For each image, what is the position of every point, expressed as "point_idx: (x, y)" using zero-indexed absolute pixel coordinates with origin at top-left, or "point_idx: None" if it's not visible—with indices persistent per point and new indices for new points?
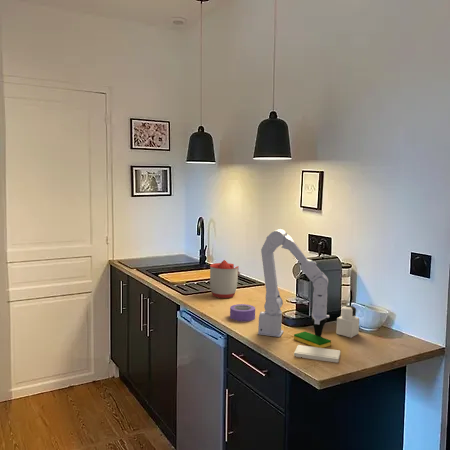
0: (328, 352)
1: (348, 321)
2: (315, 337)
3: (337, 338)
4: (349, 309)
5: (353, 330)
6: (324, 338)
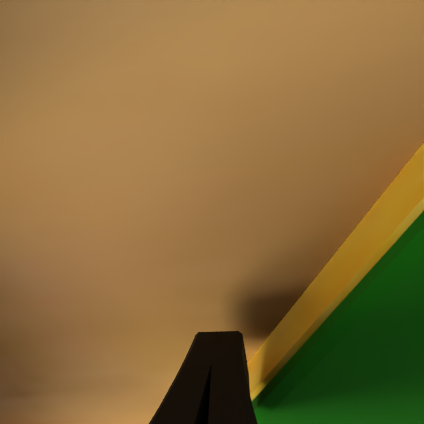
0: None
1: None
2: (390, 399)
3: (27, 110)
4: None
5: None
6: (396, 295)
